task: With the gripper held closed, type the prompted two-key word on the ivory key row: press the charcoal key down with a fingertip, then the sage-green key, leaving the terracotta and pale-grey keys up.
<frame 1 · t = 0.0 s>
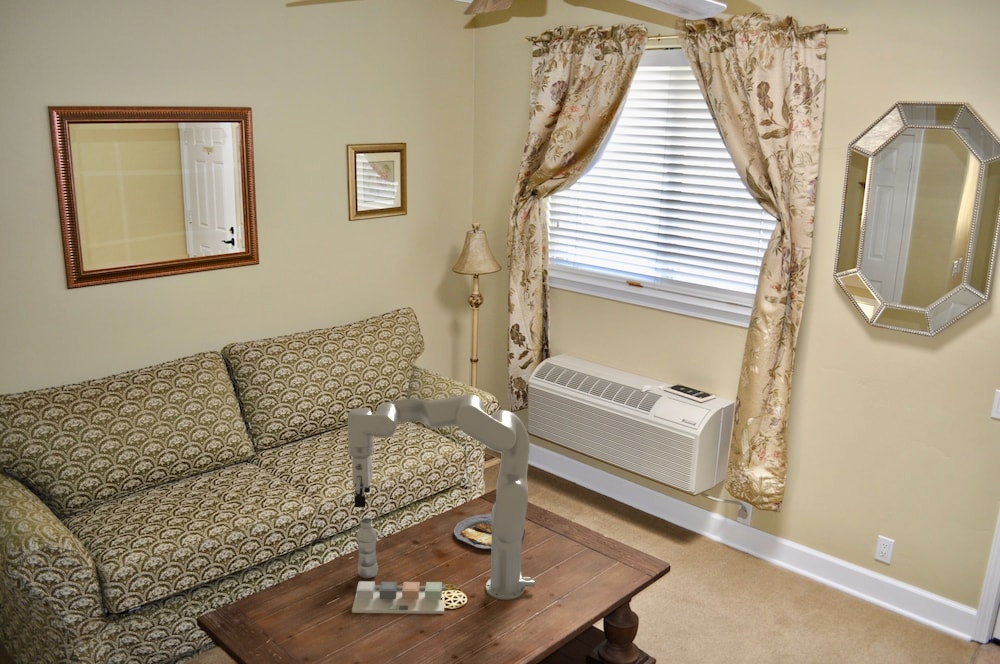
hand: (362, 499, 259), 31 cm above the table, fingers open, 9 cm apart
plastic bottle: (367, 576, 275), on the table
key terracotta: (411, 590, 260), point 4 cm above the table, slide at 0.0 cm
keyboard base: (400, 601, 261), on the table
food plate: (489, 536, 301), on the table
key charcoal: (388, 590, 260), point 4 cm above the table, slide at 0.0 cm
key sage: (433, 590, 260), point 4 cm above the table, slide at 0.0 cm
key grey: (365, 589, 260), point 4 cm above the table, slide at 0.0 cm
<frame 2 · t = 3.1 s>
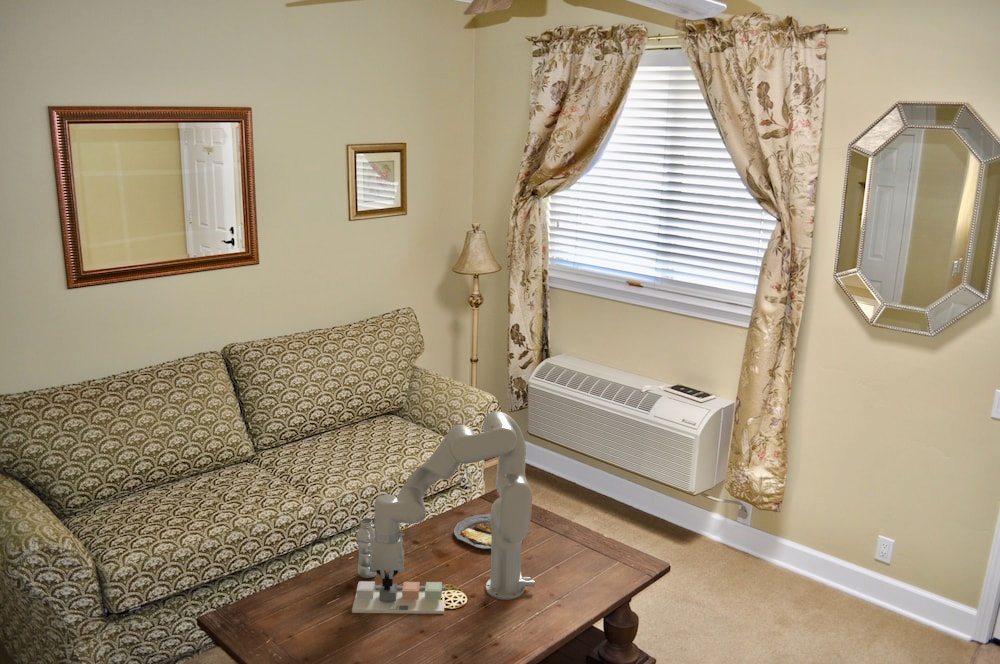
hand: (387, 587, 259), 5 cm above the table, fingers closed
key charcoal: (388, 592, 260), point 3 cm above the table, slide at 0.7 cm, touching gripper
everything else where it was.
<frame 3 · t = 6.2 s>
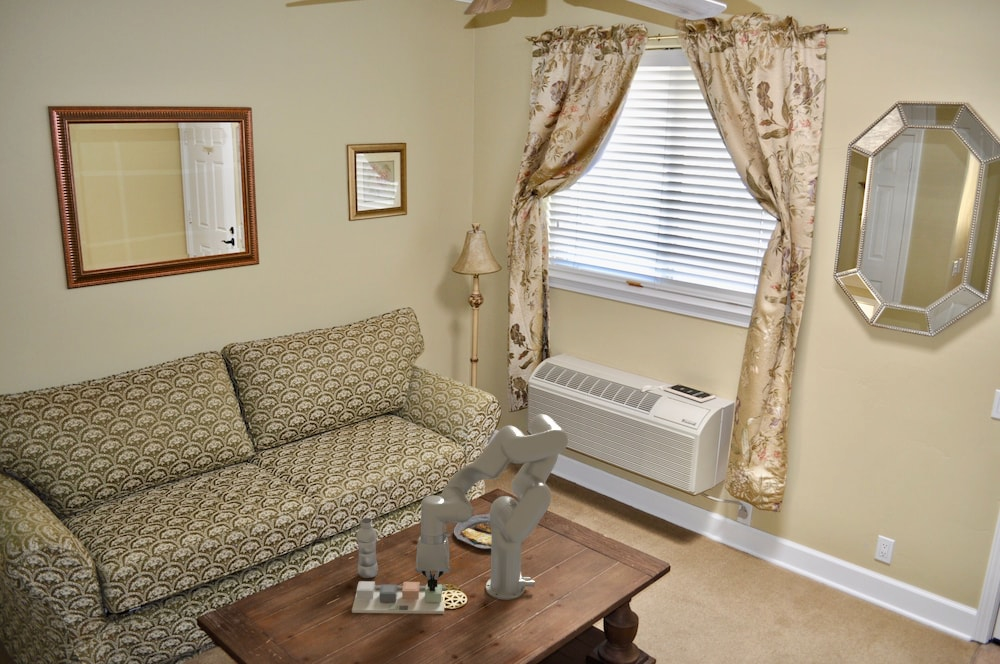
hand: (432, 588, 260), 5 cm above the table, fingers closed
key charcoal: (388, 593, 260), point 3 cm above the table, slide at 1.0 cm
key sage: (433, 592, 260), point 3 cm above the table, slide at 0.8 cm, touching gripper
everything else where it was.
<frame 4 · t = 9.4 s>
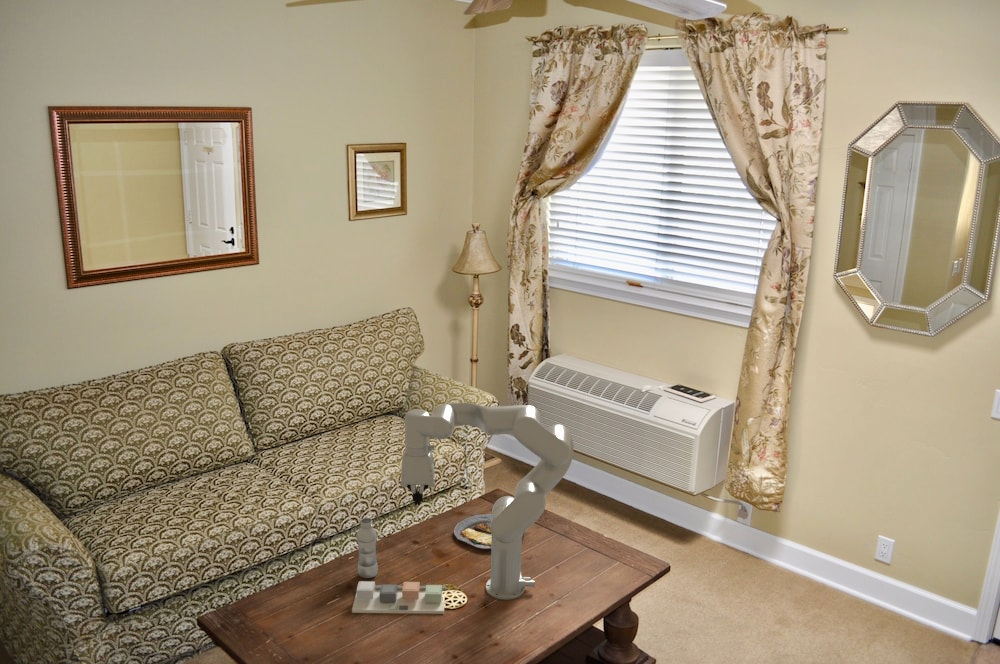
hand: (417, 503, 262), 29 cm above the table, fingers closed
key sage: (433, 593, 260), point 3 cm above the table, slide at 1.0 cm
everything else where it was.
at the end: key charcoal slide at 1.0 cm; key sage slide at 1.0 cm; key terracotta slide at 0.0 cm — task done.
